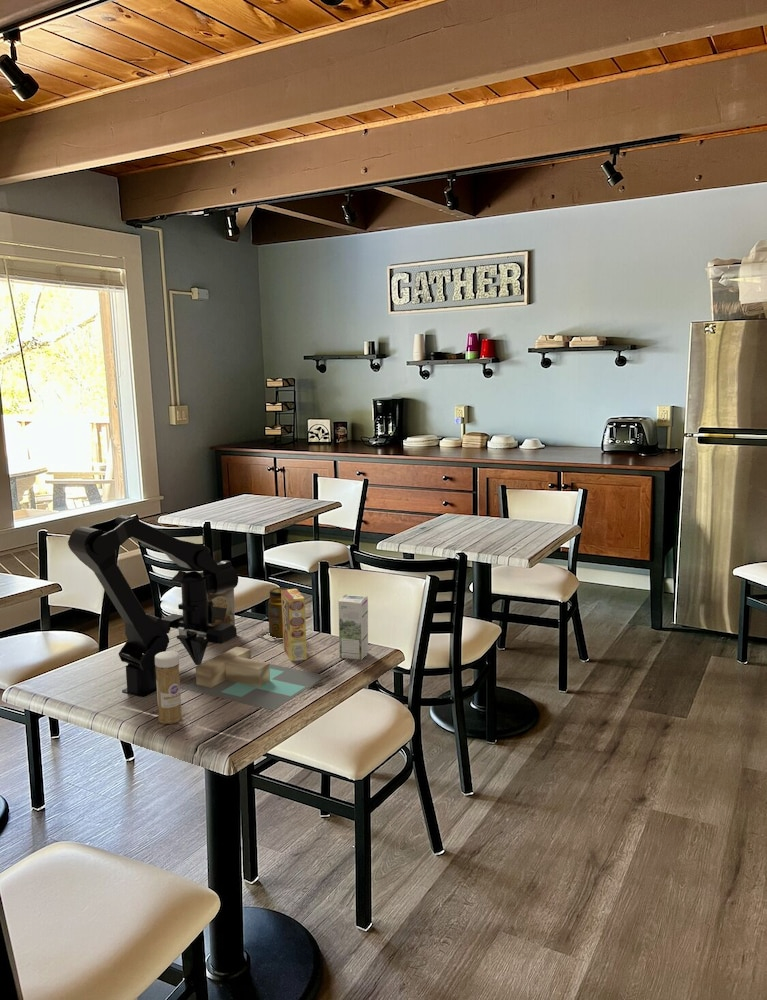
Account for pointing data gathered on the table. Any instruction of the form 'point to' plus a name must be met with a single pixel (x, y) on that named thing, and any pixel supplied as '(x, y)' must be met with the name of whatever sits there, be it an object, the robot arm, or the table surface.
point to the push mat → (263, 688)
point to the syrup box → (353, 626)
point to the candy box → (294, 624)
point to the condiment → (275, 614)
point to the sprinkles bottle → (168, 687)
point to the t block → (233, 669)
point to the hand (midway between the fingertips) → (198, 664)
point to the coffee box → (224, 605)
